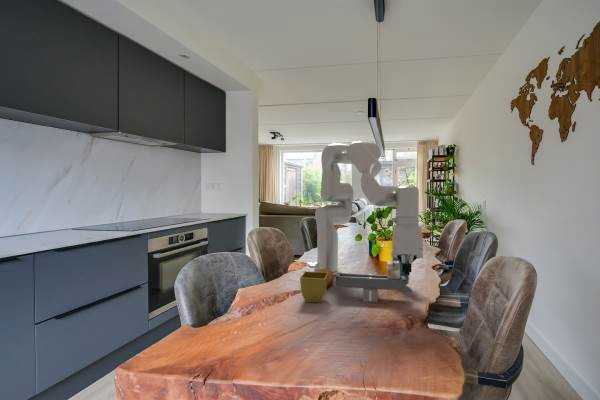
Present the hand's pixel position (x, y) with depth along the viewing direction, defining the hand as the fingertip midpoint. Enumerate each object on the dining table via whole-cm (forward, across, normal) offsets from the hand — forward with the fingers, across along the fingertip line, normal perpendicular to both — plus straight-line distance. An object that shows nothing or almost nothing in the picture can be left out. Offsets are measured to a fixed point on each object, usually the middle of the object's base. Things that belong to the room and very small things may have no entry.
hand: (406, 274), depth 121 cm
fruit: (+9, -30, +11) cm, 34 cm away
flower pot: (+9, -31, -7) cm, 33 cm away
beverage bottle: (+9, 0, +17) cm, 19 cm away
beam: (+9, -12, 0) cm, 15 cm away
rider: (+3, -5, 0) cm, 5 cm away
